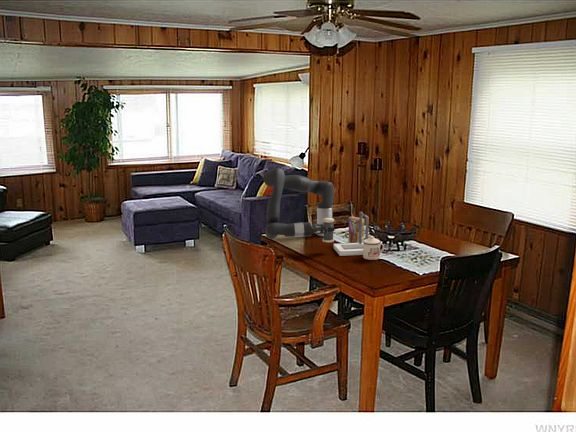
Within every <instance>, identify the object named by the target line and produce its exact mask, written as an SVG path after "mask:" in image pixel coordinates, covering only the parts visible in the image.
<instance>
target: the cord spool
mask: <svg viewBox="0 0 576 432" xmlns="http://www.w3.org/2000/svg"><path fill="white" fill-rule="evenodd" d="M323 222H324V227H327V228H330V227H334V222H335V219H334V218H333V217H332V218H325V219H323ZM324 231H325V230H324ZM322 242H323V243H334V242H335V238H334V232H327V233H324V236H323V238H322Z"/></svg>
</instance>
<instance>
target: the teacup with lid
mask: <svg viewBox="0 0 576 432" xmlns="http://www.w3.org/2000/svg"><path fill="white" fill-rule="evenodd" d="M381 247H382V248H381ZM362 249H363V255H362V257H363V259H364V260H369V261H374V260H376V261H377V260H379V259H380V258H381V257H380V256H381V255H380V254H381V253H382V252H383V251H384V250H385V245H384V244H383V243H382V242H381V241H380V240H379V239H377V238H375V237H374V236H373V235H371V236H370V237H368V239H366V240H365V239H364V241H363V248H362Z"/></svg>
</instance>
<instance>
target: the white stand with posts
mask: <svg viewBox="0 0 576 432" xmlns="http://www.w3.org/2000/svg"><path fill="white" fill-rule="evenodd" d="M363 217H364V219H365V223H364V240H366V239H368V238H369V224H370V223H369V216H368V215H366V214H364V213H363V211H359V217H358V218H359V243H348V242H346V243H345V242H344V243H342V242H340V243H333V250H335V252H336V253H337V254H338V255H339V256H340V257H341V256H343V257H345V256H363V243H362V218H363Z"/></svg>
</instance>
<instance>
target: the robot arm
mask: <svg viewBox="0 0 576 432" xmlns="http://www.w3.org/2000/svg"><path fill="white" fill-rule="evenodd" d="M262 180H263V181H262V182H264V184H265V185H266V186H267V187H269V188H273V190H272V193H271V195H270V198H269V200H268V203H267V204H266V205H267V206H266V222H265V223H266V224H265V235H266V237H267V239H269V240H274V239H276V238H277V237H278V236H284V237H287V238H291V237H293V238H294V237H300V238H301V237H311V236H312V233H314V234H316V235H317V236H319V237H324V233H327V232H333V233H334V232H335V227H334V226H333V227H330V228H327V227H324V222H323V219H325V218H332V219H333V204H334V201H335V200H334V198H335V187H334V184H333V183H332V182H331V181H325V180H313V179H310V178H309V177H307V176H303V175H299V174H292V175H291V174H289V175H286V174H285V172H284V170H283V169H282V168H280V167H277V168H275V167H274V168H273V169H270V170H268V171H266V172H265V173H264V174H263V176H262ZM284 189H287V190H291V191H294V192H300V193H311V194H314V195H317V196H319V197H322V200H321V201H319V202H317V203H316V223H311V222H296V223H282V222H281V223H280V222H279V221H280V211H281V209H280V208H281V201H282V200H281V199H282V195H283V191H284ZM324 230H325V231H324Z"/></svg>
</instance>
